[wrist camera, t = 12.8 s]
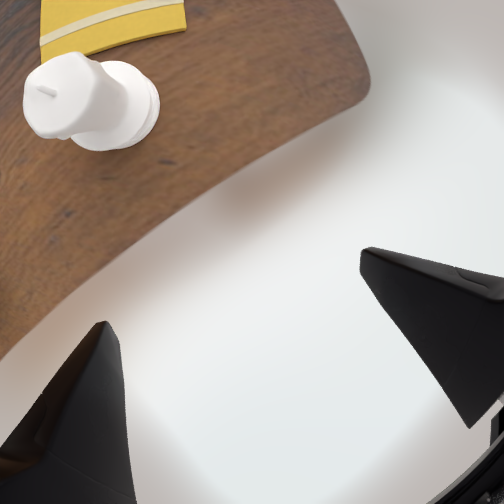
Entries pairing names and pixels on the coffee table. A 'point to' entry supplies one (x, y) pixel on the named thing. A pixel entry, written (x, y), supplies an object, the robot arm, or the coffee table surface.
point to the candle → (90, 102)
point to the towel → (104, 24)
